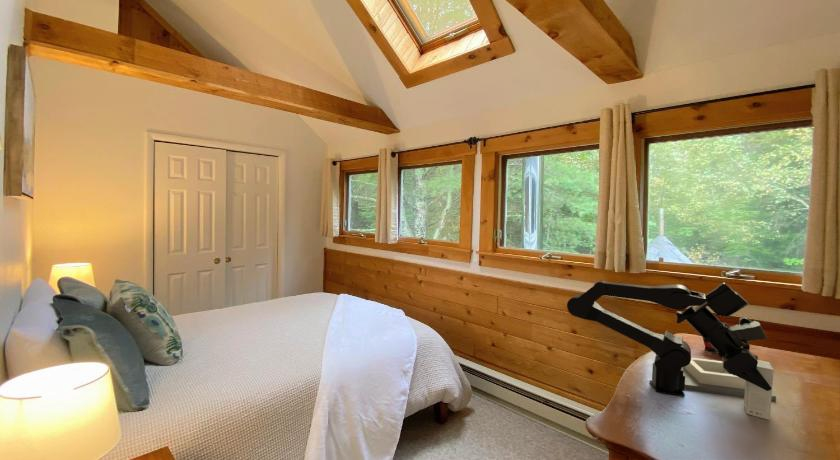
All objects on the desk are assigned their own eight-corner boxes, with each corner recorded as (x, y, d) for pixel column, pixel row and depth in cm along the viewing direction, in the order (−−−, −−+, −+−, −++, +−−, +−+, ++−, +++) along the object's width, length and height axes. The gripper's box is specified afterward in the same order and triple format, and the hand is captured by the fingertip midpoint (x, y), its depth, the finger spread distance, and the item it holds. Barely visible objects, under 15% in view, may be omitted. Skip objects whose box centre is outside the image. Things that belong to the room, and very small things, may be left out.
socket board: (684, 388, 99) (685, 373, 99) (664, 365, 114) (664, 352, 114) (775, 401, 93) (777, 385, 93) (741, 374, 109) (742, 360, 109)
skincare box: (770, 420, 84) (774, 370, 84) (745, 414, 87) (749, 365, 86) (766, 409, 89) (770, 361, 89) (743, 403, 92) (746, 357, 91)
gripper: (746, 317, 82) (813, 380, 76) (736, 302, 97) (792, 352, 91) (699, 344, 87) (759, 404, 81) (697, 325, 102) (747, 375, 96)
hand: (766, 382), depth 87 cm, fingers open, 9 cm apart
